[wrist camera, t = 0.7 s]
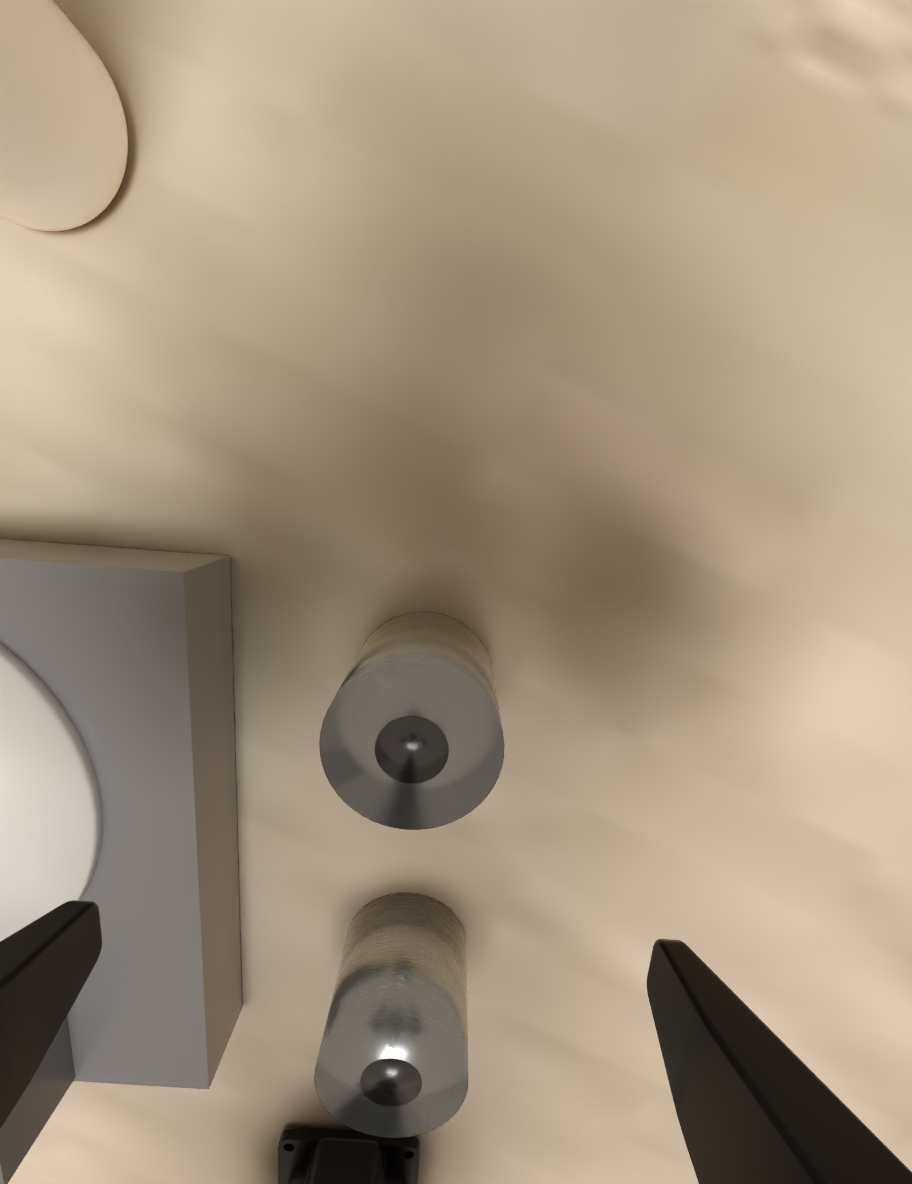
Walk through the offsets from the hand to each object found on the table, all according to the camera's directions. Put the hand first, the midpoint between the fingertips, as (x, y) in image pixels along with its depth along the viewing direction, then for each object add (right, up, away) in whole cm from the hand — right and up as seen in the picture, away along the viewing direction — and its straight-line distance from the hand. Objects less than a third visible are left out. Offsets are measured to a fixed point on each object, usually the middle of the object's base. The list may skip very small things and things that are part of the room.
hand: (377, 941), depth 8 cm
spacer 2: (-1, -9, +13) cm, 16 cm away
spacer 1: (0, +2, +10) cm, 11 cm away
